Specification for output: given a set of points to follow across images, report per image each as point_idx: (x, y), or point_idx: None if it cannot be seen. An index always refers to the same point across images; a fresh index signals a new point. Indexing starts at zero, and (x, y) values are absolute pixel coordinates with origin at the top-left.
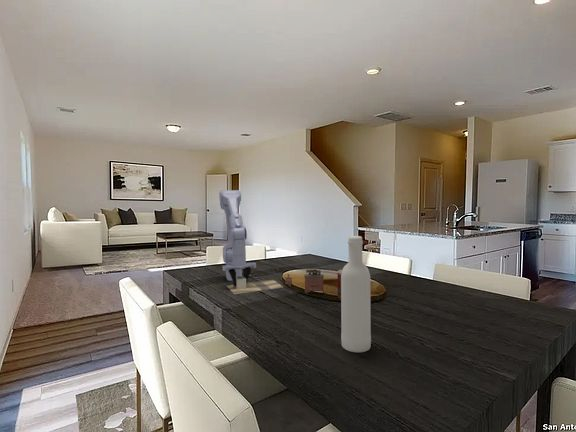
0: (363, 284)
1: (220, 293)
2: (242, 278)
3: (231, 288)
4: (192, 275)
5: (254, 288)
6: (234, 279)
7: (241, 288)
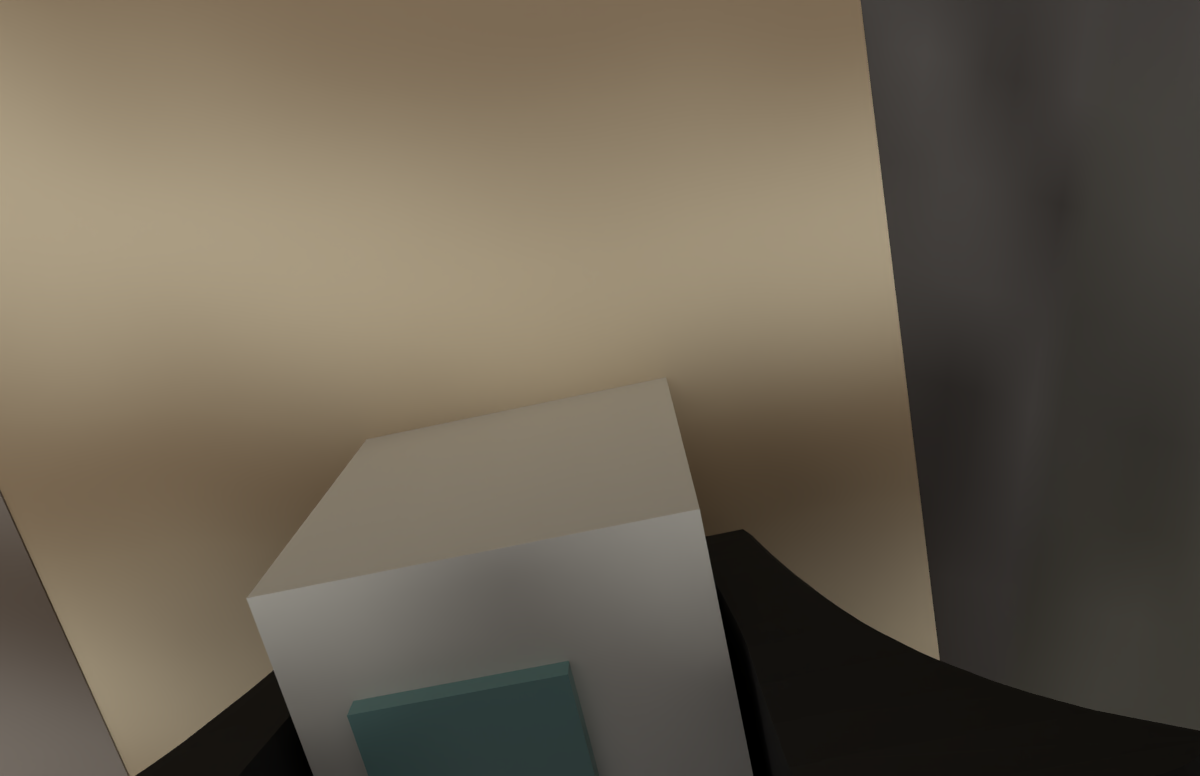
0: None
1: (1166, 321)
2: (424, 683)
3: (846, 484)
4: None
5: (86, 299)
6: (811, 631)
7: (526, 407)
